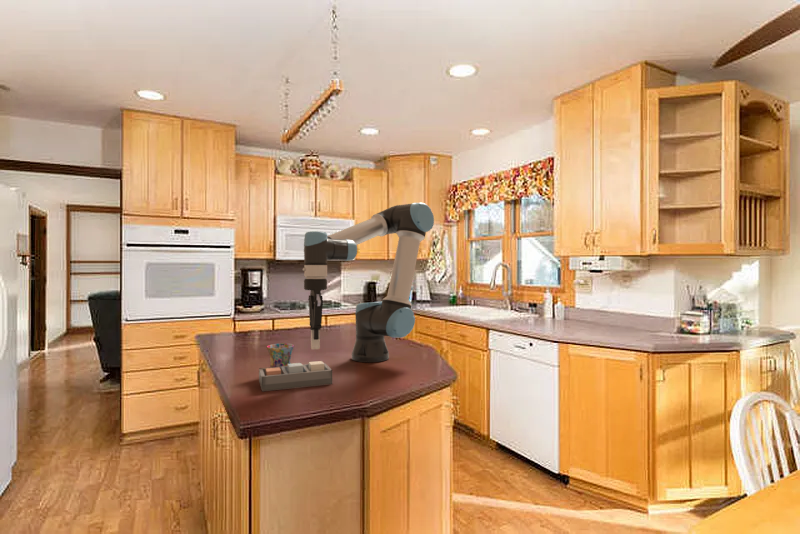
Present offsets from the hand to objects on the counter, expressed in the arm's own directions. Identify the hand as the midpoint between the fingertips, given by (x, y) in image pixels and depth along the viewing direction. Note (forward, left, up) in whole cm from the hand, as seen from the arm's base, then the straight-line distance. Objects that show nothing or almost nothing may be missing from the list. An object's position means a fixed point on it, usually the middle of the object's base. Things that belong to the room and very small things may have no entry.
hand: (315, 348), depth 153 cm
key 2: (0, 0, -7) cm, 7 cm away
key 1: (+14, 0, -8) cm, 16 cm away
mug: (+10, -13, -11) cm, 20 cm away
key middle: (+7, 0, -7) cm, 10 cm away
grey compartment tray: (+7, 0, -11) cm, 13 cm away
